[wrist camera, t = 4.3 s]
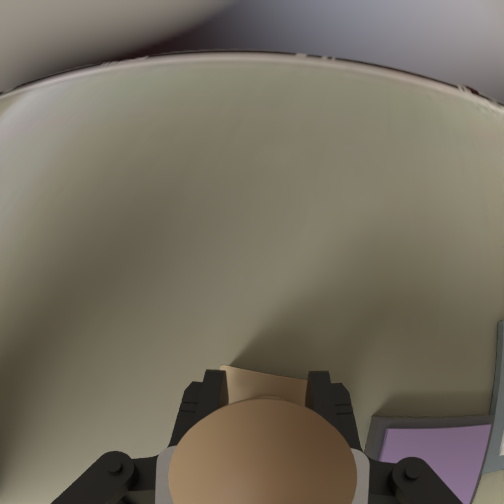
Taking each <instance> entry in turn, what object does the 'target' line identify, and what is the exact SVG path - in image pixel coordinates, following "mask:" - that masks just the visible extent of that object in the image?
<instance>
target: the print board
mask: <svg viewBox="0 0 504 504" xmlns="http://www.w3.org/2000/svg"><path fill="white" fill-rule="evenodd" d="M490 415H495V420H494V426H493V431H492V436H491V440H490V445H489V449H488V453H487V457H486V461H485V464H484V468H483V471H482V474H485V473H490V472H494V471H498V470H502V469H504V320H502V321H499V322H498V341H497V358H496V370H495V380H494V388H493V396H492V403H491V409H490Z"/></svg>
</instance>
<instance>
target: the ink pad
mask: <svg viewBox="0 0 504 504" xmlns="http://www.w3.org/2000/svg"><path fill="white" fill-rule="evenodd" d="M494 420H495V415H485V414H484V415H471V416H453V417H388V416H372V419H371V424H370V429H369V433H368V438H367V442H366V446H365V450H364V453H365V454H366V455H367V456H368V457H370V458H371V459H373V460H376V461H381V462H389V463H397V462H398V461H400V460H401V459H403V458H406V457H418V458H421V459H423V460H424V461H425V462H426V463H427V464H428V465H429V466H430V467H431V468H432V469H433V470H434V472H435V473H436V474H437V475H438V476H439V477H440V478H441V479H442V481H443V482H444V483H445V484H446V485H447V486H448V487H449V488H450V489H451V491H452V492H453V493H454V494H455V495H456V496H457V497H458V498H459V499H460V501H461V502H462V503H463V504H472V502H473V499H474V496H475V494H476V491H477V488H478V485H479V481H480V478H481V475H482V471H483V468H484V464H485V461H486V457H487V453H488V449H489V445H490V440H491V436H492V431H493V426H494Z"/></svg>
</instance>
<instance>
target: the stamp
mask: <svg viewBox="0 0 504 504" xmlns="http://www.w3.org/2000/svg"><path fill="white" fill-rule="evenodd" d="M220 370H225V371H226V375H227V385H228V394H229V404H228V405H225V406H223V407H221V408H219V409H217V410H216V411H214V412H213V413H211V414H210V415H208V416H207V417H205V418H204V419H202V420H200V421H199V422H198V423H196V424H195V425H194V426H193V427H192V428H191V429H190V430H189V431H188V432H187V433H186V434H185V435H184V436H183V437H182V439H181V440H180V442H179V444H178V445H177V447H176V449H175V451H174V453H173V455H172V458H171V462H170V466H169V474H168V480H169V489H170V494H171V498H172V500H173V503H174V504H352V501H353V499H354V496H355V492H356V487H357V467H356V463H355V459H354V455H353V453H352V451H351V449H350V446H349V445H348V443H347V442H346V440H345V439H344V437H343V436H342V435H341V434H340V433H339V431H338V430H337V429H336V428H335V427H333V426H332V425H331V424H330V423H329V422H328V421H326V420H325V419H324V418H323V417H321V416H320V415H319V414H317V413H316V412H314V411H313V410H311V409H309V408H307V407H305V395H306V388H307V381H308V380H304V379H297V378H291V377H284V376H278V375H272V374H267V373H261V372H256V371H251V370H245V369H240V368H236V367H231V366H226V365H221V369H220ZM331 384H332V383H331Z"/></svg>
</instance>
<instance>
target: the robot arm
mask: <svg viewBox="0 0 504 504" xmlns="http://www.w3.org/2000/svg"><path fill="white" fill-rule="evenodd" d="M228 404H229V394H228V385H227V375H226V371H225V370H209V369H207V370H206V372H205V375H204V380H203V382H192V383H191V384H190V385H189V386H188V387H187V388H186V390H185V391H184V394H183V398H182V403H181V405H180V408H179V412H178V415H177V419H176V423H175V426H174V430H173V433H172V437H171V440H170V443H169V445H168V447H167V448H166V449H164V450H163V451H162V452H161V453H160V454H159V455H157V456H154V457H149V458H139V459H131V458H130V457H129V456H128V455H127V454H125V453H123V452H119V451H111V452H107V453H105V454H103V455H102V456H101V457H100V458H99V459H98V460H97V461H96V462H95V463H94V464H92V465H91V466H90V467H89V468H88V469H87V470H86V471H85V472H84V473H83V474H82V475H81V476H80V477H79V478H78V479H77V480H76V481H75V482H74V483H72V484H71V485H70V486H69V487H68V488H67V489H66V490H65V491H64V492H63V493H62V494H61V495H60V496H59V497H57V498H56V499H55V500H54V501H53V502H52V503H51V504H174V503H173V500H172V498H171V494H170V489H169V480H168V474H169V466H170V462H171V458H172V455H173V453H174V451H175V449H176V447H177V445H178V444H179V442H180V440H181V439H182V437H183V436H184V435H185V434H186V433H187V432H188V431H189V430H190V429H191V428H192V427H193V426H194V425H195V424H196V423H198V422H199V421H200V420H202V419H204V418H205V417H207V416H208V415H210V414H211V413H213V412H214V411H216V410H217V409H219V408H221V407H223V406H225V405H228ZM305 407H307V408H309V409H311V410H313V411H314V412H316V413H317V414H319V415H320V416H321V417H323V418H324V419H325V420H326V421H328V422H329V423H330V424H331V425H332V426H333V427H335V428H336V429H337V430H338V431H339V433H340V434H341V435H342V436H343V437H344V439H345V440H346V442H347V443H348V445H349V446H350V449H351V451H352V453H353V455H354V459H355V463H356V467H357V487H356V492H355V496H354V499H353V501H352V504H463V503H462V502H461V501H460V499H459V498H458V497H457V496H456V495H455V494H454V493H453V492H452V491H451V489H450V488H449V487H448V486H447V485H446V484H445V483H444V482H443V481H442V479H441V478H440V477H439V476H438V475H437V474H436V473H435V472H434V470H433V469H432V468H431V467H430V466H429V465H428V464H427V463H426V462H425V461H424V460H423V459H421V458H418V457H406V458H403V459H401V460H400V461H398V462H397V463H389V462H381V461H376V460H373V459H371V458H370V457H368V456H367V455H366V454H365V453H364V452H363V451H362V449H361V446H360V442H359V437H358V432H357V427H356V422H355V417H354V414H353V408H352V406H351V399H350V395H349V392H348V391H347V389H346V388H345V387H344V386H343V384H342V383H334V384H331V381H330V375H329V372H328V371H309V374H308V381H307V388H306V395H305Z"/></svg>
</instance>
